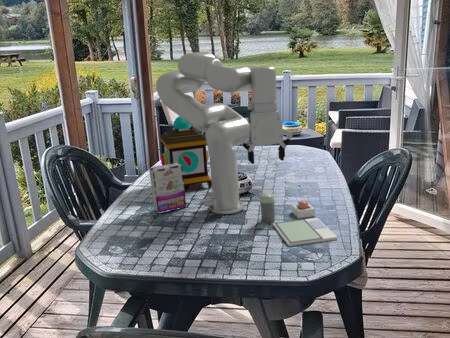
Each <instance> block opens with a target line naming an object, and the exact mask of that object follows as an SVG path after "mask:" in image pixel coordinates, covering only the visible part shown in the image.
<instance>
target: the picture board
mask: <svg viewBox="0 0 450 338" xmlns="http://www.w3.org/2000/svg"><path fill="white" fill-rule="evenodd" d="M272 224H273V227H274V228H275V230H276V231H277V233H278V234H279V235H280V236H281V238H282V239H283V240H284V242H285V243H286V244H287V246H288V247H291V246H292V247H293V246H300V245H307V244H315V243H321V242H330V241H335V240H338V238H339V237H338V236H337V235H336V234H335V233H334V232H333V231H332V230H331V229H330V228H329V227H328V226H327V225H326V224H324V222H322V221H321V219H320V218H318V217H310V218H303V219H302V218H301V219H295V220H289V221H287V220H286V221H280V222H274V223H272Z"/></svg>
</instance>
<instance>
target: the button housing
mask: <svg viewBox="0 0 450 338" xmlns="http://www.w3.org/2000/svg"><path fill="white" fill-rule="evenodd" d="M291 213H292V214H293V215H294V216H295V217H296V218H297V219H302V218H303V219H305V218H313V217H316V208H315V207H314V206H313V205H312V204H310V203H309V202H308V209H301V210H300V209H299V204H298V203H297V204H291Z"/></svg>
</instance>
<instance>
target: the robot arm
mask: <svg viewBox="0 0 450 338" xmlns="http://www.w3.org/2000/svg"><path fill="white" fill-rule="evenodd" d="M177 69H178V70H175V71H169V72H166V73H162V75H160V76H158V77H157V80H156V83H155V84H156V85H155V87H156V92H157V95H158V97H159V99H160V101H161V102H162V104H163V105H164V106H165V107H167V108H168V109H169V110H170V111H172V112H173V113H175V114H177V116H178V117H179V116H180V117H181V118H183V119H184V120H185V121H186V122H187V123H188V124H190V126H191V127H192V129H195V130H197V131H198V132H200V133H205V135H204V136H205V138H206V143H207V144H206V147H207V149H208V150H207V151H208V157H209V165H210V167H209V168H210V179H211V182H212V186H211V191H212V194H211V195H210V197H209V198H207V199H206V198H205V199H204V198H203V199H199V205H200V206H203V205H204V207H208V210H209V211H210V212H211V213H213V214H217V215H230V214H231V215H232V214H235V213H239V212H240V211H242V210H243V209H244V208H245V204H244V203H243V201H241V200H240V190H239V189H240V188H239V187H240V186H239V185H240V184H239V170H238V167H239V166H238V159H237V156H236V154H235V152H234V150H233V147H236V146H240V145H241V146H242V148H244V149H245V150H246V151H247V158H248V162H249V163H250V164H251V165H254V164H255V153H254V148H255V147H260V146H261V147H262V146H268V145H269V146H270V145H279V146H278V149H277V150H278V160H280V161H284V160H285V157H286V148H287V146H288V144H290V142H291V139H292V137H293V135H294V133H293V132H291V131H288V130H286V129H284V127H283V122H282V121H283V120H282V115H281V112H280V111H279V110H278V100H277V95H278V94H277V73H276V68H275V67H274V66H270V65H267V66H256V65H242V66H234V67H226V66H223V63H222V61H221V60H220V59H219V58H217V57H215V55H214V54H213V53H211V52H208V51H197V52H188V53H184V54H183V55H181V56H180V58H179V59H178V61H177ZM206 83H207V85H208V86H209V87H210V88H211V89H214V90H216V91H221V92H224V93H229V94H230V93H231V94H232V93H239V92H247V91H251V104H249V105H247V110H251V112H250V115H249V121H248V120H247V119H246V118H245V117H243V116H242V115H241V114H239V112H237V111H235V110H234V109H233V108H231V107H230V106H228V105H227V104H225V103H221V102H215V103H209V104H204V103H202V102H200V101H198V100H197V98H196V97H193V96H191V95H189V94H188V93H194V92H197V91H198V90H199V89H201V88H202V87H203V86H204V85H205V84H206ZM284 135H286V138H285V139H284ZM248 141H249V144H247V142H248Z"/></svg>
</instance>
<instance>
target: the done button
mask: <svg viewBox="0 0 450 338" xmlns="http://www.w3.org/2000/svg"><path fill="white" fill-rule="evenodd" d="M308 203H309V202H308V200H299V201H298V203H297V204H299V209H300V210H301V209H308Z"/></svg>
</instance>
